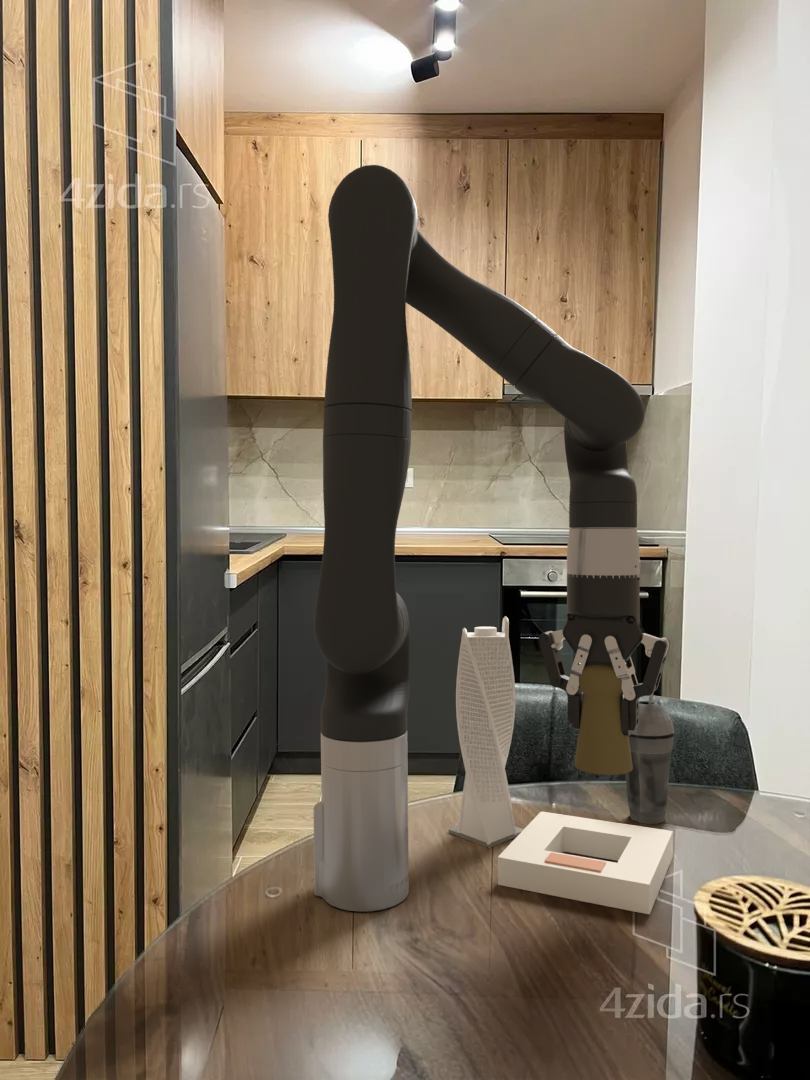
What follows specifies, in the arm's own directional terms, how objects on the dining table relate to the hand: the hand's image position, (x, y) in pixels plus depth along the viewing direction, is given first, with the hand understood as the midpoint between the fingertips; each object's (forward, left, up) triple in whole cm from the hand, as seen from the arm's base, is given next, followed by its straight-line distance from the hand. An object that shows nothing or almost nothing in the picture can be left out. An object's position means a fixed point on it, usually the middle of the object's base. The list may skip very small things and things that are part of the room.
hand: (603, 730), depth 85 cm
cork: (0, 0, -4) cm, 4 cm away
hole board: (-3, +5, -17) cm, 18 cm away
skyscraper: (-17, +10, -17) cm, 26 cm away
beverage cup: (0, +25, -17) cm, 30 cm away
